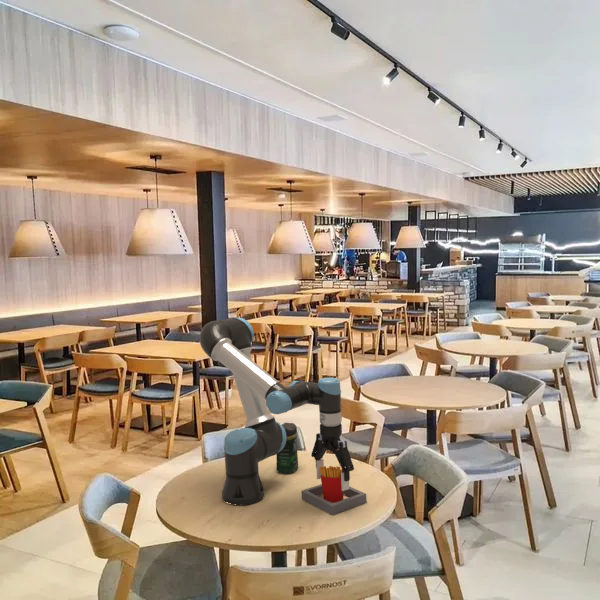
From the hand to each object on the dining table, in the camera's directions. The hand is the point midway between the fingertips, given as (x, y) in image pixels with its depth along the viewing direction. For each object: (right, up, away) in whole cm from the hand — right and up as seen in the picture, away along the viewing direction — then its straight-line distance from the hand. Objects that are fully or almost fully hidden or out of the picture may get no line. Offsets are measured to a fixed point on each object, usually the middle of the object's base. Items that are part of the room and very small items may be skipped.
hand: (332, 483), depth 200 cm
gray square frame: (0, -6, 0) cm, 6 cm away
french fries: (0, -6, +1) cm, 6 cm away
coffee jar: (-16, -5, +32) cm, 36 cm away
